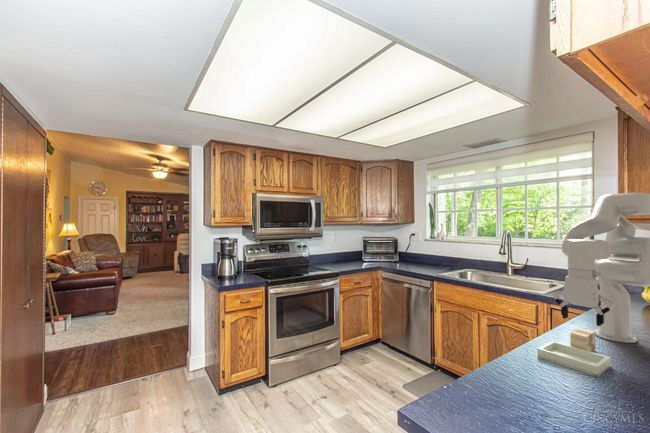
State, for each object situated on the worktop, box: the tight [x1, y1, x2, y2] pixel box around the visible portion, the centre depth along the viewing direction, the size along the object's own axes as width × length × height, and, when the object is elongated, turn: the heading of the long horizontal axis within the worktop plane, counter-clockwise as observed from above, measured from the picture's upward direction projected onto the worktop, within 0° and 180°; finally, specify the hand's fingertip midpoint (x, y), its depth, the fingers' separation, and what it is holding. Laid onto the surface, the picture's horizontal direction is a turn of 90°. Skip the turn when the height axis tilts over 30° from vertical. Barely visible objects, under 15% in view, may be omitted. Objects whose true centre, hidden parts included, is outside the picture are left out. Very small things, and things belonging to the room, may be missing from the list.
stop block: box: [569, 327, 597, 353], centre depth 108 cm, size 9×4×7 cm, turn 123°
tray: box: [536, 340, 612, 378], centre depth 100 cm, size 12×16×3 cm
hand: (581, 321), depth 108 cm, fingers open, 9 cm apart
